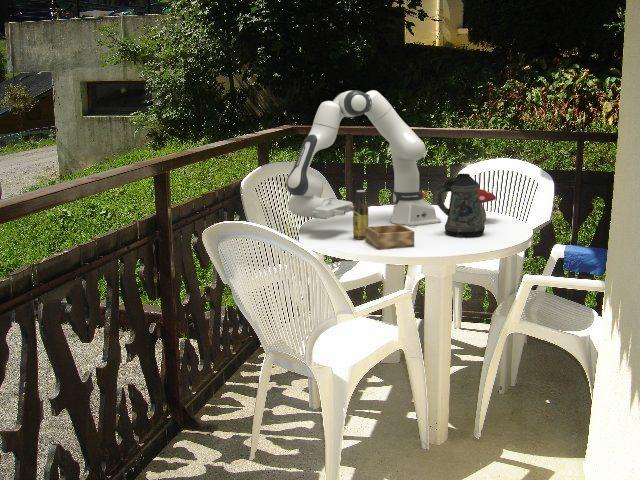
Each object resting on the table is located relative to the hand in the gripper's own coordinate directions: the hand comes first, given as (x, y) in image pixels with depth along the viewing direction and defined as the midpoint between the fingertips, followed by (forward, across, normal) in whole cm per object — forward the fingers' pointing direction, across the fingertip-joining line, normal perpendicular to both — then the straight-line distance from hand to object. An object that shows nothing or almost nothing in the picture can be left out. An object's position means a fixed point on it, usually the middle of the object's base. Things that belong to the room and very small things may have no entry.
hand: (350, 211), depth 319 cm
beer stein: (+37, +28, +11) cm, 48 cm away
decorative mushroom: (+32, +56, +11) cm, 65 cm away
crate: (+20, -3, +11) cm, 23 cm away
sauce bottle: (+5, 0, +11) cm, 12 cm away
